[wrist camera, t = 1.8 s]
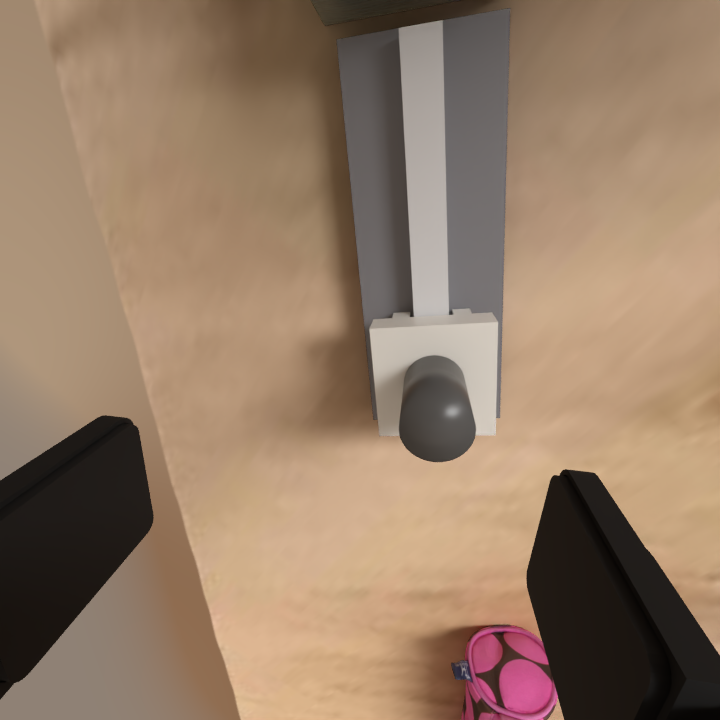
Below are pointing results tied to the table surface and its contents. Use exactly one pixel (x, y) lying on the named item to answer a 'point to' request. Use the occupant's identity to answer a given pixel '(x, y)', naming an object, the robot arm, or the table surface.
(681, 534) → the table surface
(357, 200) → the rail bed
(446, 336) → the carriage
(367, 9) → the cabinet
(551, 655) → the robot arm
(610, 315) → the table surface
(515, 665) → the pencil case
